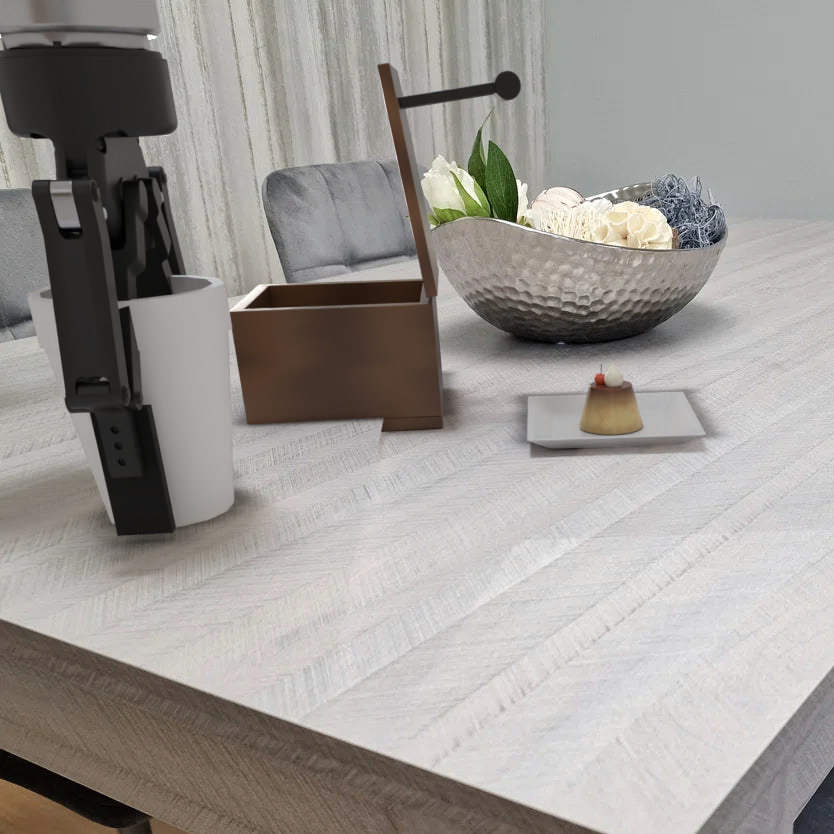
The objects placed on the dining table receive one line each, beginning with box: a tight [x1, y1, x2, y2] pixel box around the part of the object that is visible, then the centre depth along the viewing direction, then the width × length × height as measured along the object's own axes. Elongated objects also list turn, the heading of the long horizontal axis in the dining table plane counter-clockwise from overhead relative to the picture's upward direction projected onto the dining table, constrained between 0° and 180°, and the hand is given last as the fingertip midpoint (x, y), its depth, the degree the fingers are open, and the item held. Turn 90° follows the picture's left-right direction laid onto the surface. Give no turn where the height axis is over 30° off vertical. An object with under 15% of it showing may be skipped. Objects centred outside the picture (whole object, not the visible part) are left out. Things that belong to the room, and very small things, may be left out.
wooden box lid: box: [376, 62, 522, 298], centre depth 75 cm, size 15×13×9 cm
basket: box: [229, 278, 444, 432], centre depth 79 cm, size 14×13×9 cm
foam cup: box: [25, 274, 235, 528], centre depth 56 cm, size 10×9×13 cm
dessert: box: [526, 363, 707, 450], centre depth 74 cm, size 12×12×5 cm
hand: (170, 499), depth 58 cm, fingers closed on foam cup, 9 cm apart
